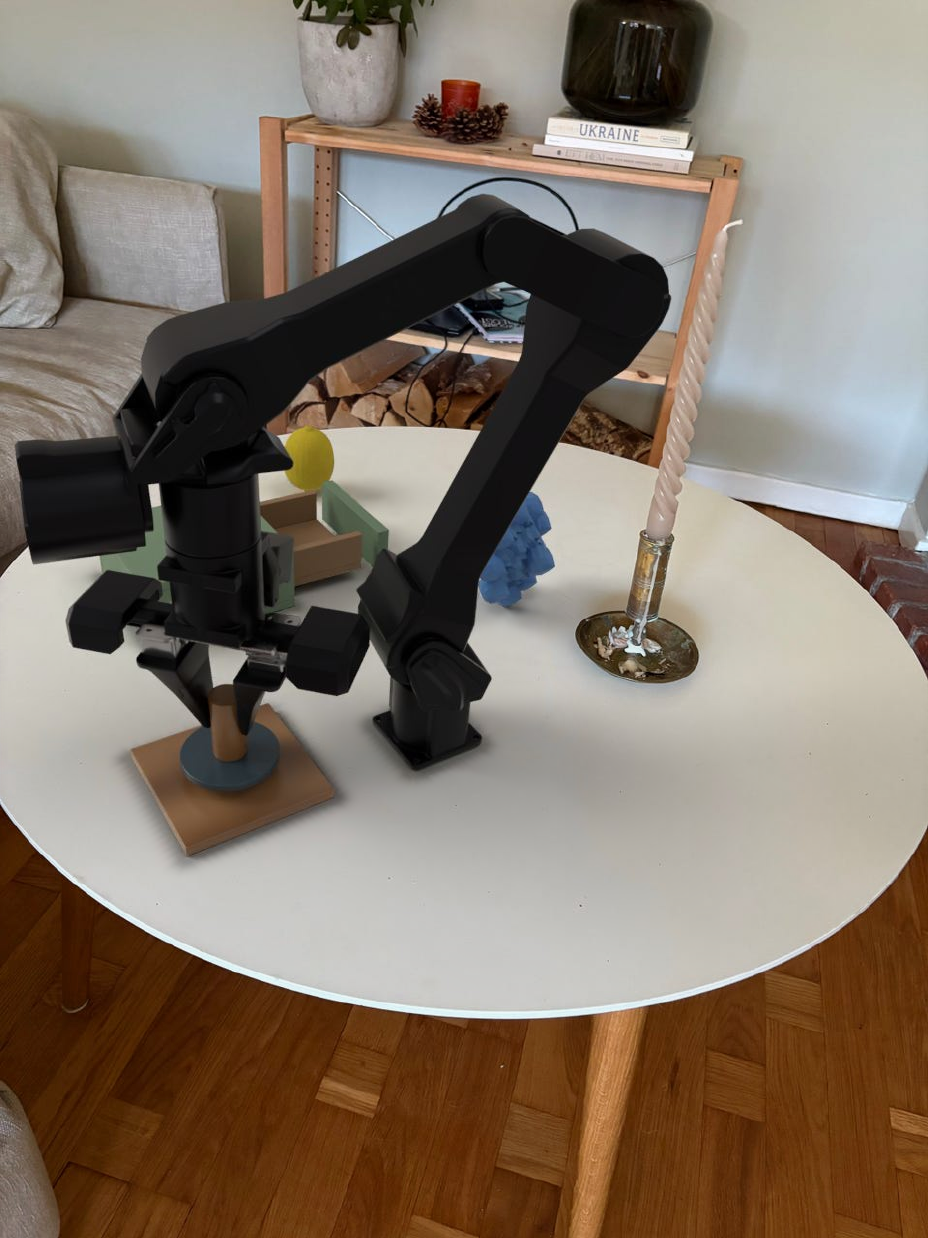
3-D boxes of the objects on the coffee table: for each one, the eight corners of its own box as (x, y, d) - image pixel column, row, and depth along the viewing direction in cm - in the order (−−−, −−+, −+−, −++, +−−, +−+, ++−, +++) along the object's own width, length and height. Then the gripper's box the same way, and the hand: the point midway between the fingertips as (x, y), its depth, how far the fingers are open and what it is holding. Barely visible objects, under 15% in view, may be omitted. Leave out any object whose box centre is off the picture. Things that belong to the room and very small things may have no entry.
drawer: (342, 514, 101) (342, 477, 99) (397, 565, 94) (399, 527, 91) (219, 543, 94) (216, 505, 92) (268, 601, 87) (267, 561, 85)
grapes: (515, 649, 86) (532, 533, 79) (452, 622, 88) (463, 507, 81) (573, 593, 94) (593, 483, 87) (514, 570, 97) (528, 461, 90)
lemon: (279, 484, 108) (277, 417, 103) (327, 479, 109) (327, 413, 105) (289, 507, 103) (288, 438, 99) (339, 502, 105) (340, 434, 101)
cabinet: (239, 543, 96) (235, 489, 93) (295, 606, 88) (293, 549, 85) (102, 576, 90) (93, 519, 86) (149, 647, 81) (141, 587, 78)
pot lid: (297, 769, 68) (295, 707, 65) (202, 805, 65) (196, 742, 61) (255, 713, 73) (251, 652, 69) (165, 744, 69) (157, 681, 66)
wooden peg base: (334, 797, 69) (334, 789, 69) (186, 857, 63) (185, 848, 63) (268, 710, 76) (268, 702, 76) (131, 757, 71) (129, 749, 70)
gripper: (394, 499, 64) (386, 682, 73) (130, 456, 66) (154, 639, 75) (347, 586, 55) (344, 783, 64) (42, 534, 57) (81, 732, 66)
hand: (228, 727), depth 67 cm, fingers closed on pot lid, 2 cm apart
